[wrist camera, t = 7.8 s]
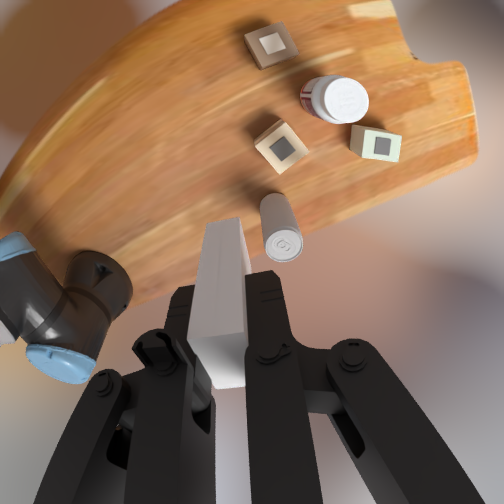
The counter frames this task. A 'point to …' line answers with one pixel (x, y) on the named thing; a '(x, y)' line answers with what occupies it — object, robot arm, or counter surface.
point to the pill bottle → (334, 99)
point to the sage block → (375, 143)
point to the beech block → (280, 146)
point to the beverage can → (280, 228)
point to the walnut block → (271, 45)
